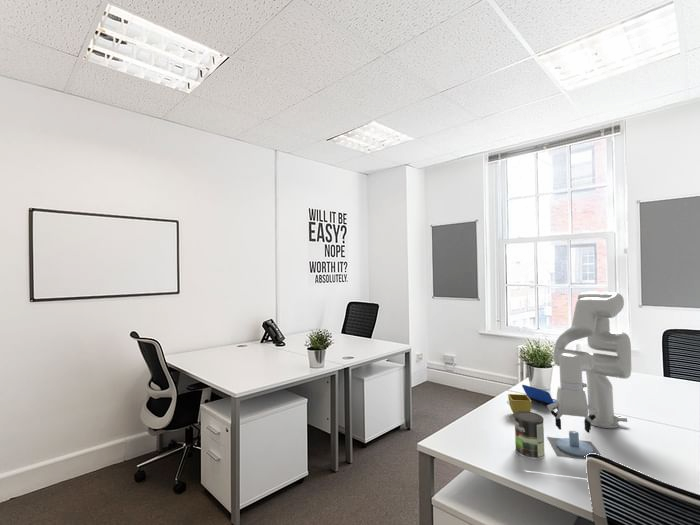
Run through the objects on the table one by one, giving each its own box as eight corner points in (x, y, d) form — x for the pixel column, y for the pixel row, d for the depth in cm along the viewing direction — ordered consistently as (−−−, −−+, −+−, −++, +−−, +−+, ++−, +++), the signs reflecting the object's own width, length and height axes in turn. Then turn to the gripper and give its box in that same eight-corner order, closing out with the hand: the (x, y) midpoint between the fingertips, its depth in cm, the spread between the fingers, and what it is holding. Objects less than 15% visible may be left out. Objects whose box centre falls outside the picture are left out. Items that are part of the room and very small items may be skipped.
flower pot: (532, 420, 165) (531, 400, 165) (513, 419, 167) (512, 400, 167) (527, 412, 173) (526, 394, 174) (508, 411, 175) (507, 393, 175)
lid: (586, 443, 141) (585, 427, 141) (598, 458, 129) (597, 441, 130) (553, 439, 144) (552, 424, 145) (561, 454, 133) (560, 437, 133)
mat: (590, 442, 142) (590, 441, 142) (606, 462, 127) (606, 461, 127) (546, 437, 147) (546, 436, 147) (557, 457, 132) (556, 456, 132)
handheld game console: (565, 405, 182) (564, 387, 182) (549, 410, 176) (548, 392, 176) (537, 396, 196) (537, 380, 196) (521, 401, 190) (521, 383, 190)
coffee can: (525, 460, 130) (523, 422, 130) (510, 447, 140) (508, 411, 141) (551, 458, 131) (549, 420, 131) (534, 445, 141) (533, 410, 141)
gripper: (593, 384, 139) (595, 428, 138) (544, 381, 144) (546, 423, 143) (600, 390, 131) (602, 436, 131) (548, 386, 137) (550, 430, 136)
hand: (573, 429), depth 137 cm, fingers open, 9 cm apart
